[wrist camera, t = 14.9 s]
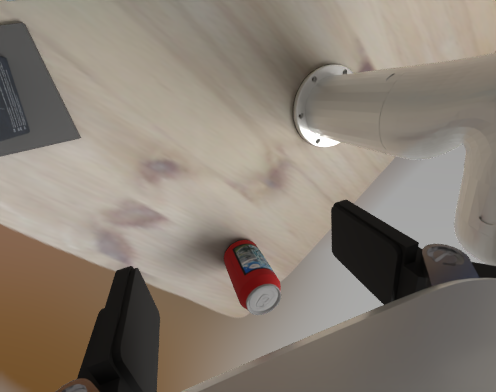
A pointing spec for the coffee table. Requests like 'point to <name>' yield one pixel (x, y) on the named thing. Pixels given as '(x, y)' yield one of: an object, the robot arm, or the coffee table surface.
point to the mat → (34, 94)
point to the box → (10, 105)
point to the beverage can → (252, 277)
